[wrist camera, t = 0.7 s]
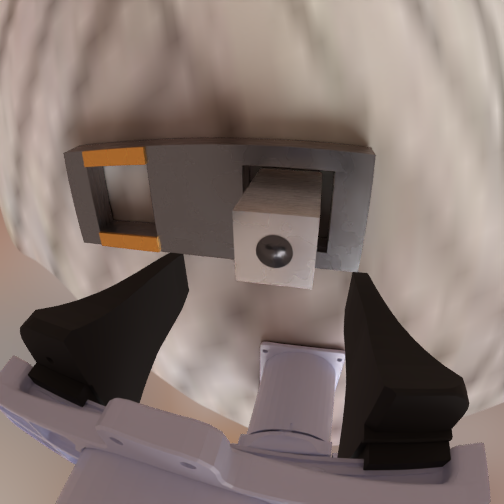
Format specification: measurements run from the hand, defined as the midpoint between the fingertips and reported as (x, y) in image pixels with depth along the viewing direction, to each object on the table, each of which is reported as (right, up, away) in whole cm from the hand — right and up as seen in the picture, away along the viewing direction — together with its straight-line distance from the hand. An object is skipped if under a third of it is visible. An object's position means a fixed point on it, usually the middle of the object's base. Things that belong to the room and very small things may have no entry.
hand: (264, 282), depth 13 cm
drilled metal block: (+2, +5, +8) cm, 10 cm away
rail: (-4, +5, +9) cm, 11 cm away
